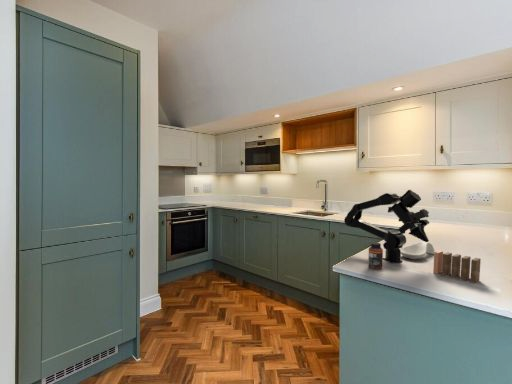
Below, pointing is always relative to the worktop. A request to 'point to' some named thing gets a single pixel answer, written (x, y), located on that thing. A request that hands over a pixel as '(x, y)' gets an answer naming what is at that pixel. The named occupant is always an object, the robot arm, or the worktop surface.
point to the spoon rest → (417, 250)
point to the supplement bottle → (375, 256)
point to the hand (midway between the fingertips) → (427, 241)
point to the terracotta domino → (438, 262)
